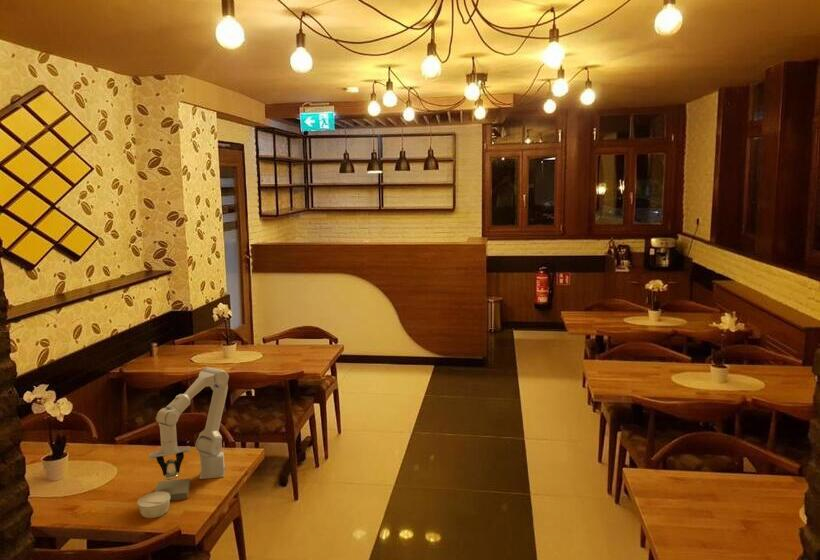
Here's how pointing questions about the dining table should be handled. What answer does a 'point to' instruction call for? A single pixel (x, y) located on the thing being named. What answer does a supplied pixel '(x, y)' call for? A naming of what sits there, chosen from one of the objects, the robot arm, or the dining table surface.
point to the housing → (171, 469)
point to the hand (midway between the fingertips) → (171, 473)
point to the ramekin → (154, 504)
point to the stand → (175, 488)
